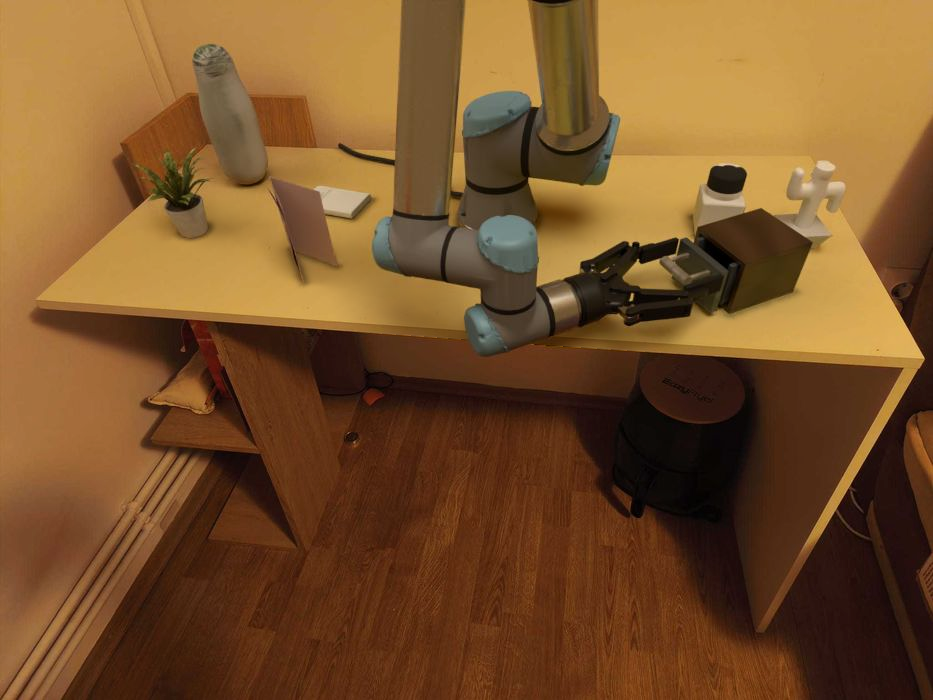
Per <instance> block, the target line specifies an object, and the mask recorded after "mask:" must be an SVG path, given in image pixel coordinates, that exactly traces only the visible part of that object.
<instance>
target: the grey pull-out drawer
mask: <svg viewBox="0 0 933 700" xmlns="http://www.w3.org/2000/svg"><path fill="white" fill-rule="evenodd" d="M658 263H659V265H660V266H661V267H662V268H663V269H665V270H666V271H667V272H668V273H669V274H670V275H671V280H672V281H673V282H675V284H676V285H678V287H680V288H681V290H683V287H684V285H687V284H691V283H694V282H697V281H700V280H703V279H706V278H709V277H712V276H715V275H718V274H722V275H723V276H724V279H723V282H722V286H721V289H720V291H718V292H715V293H712V294H709V295H707V297H706V298H705V299H703V300H700V301H697V302H696V303H698V304H699V306H701V307H702V308H703V309H704V310H705V311H707V312H708V314H712V313H714V312H717V310H718V306H720V305H722V304H725V303H728V302H729V301H730V298H731V294H732V291H733V288H734V285H735V282H736V279H737V276H738V273H739V270H740V266H741V265H740V264H739V263H737V262H736V261H735V260H733V259H732V258H731V257H730V256H728V255H727V254H726V253H724V252H723V251H722V250H721V249H719V248H718V247H717V246H715V245H714V244H713V243H712V242H710V241H709V240H708V239H706V238H705V237H704V236H702V237H699V238H696V241H695V244H694V241H692V240H691V239H689V238H688V237H687V236H685V237H682V238H680V239H679V242H678V247H677V251H676V255H675V256H671V257H670V256H664V257H662V258H661V259H659V262H658ZM719 304H720V305H719Z"/></svg>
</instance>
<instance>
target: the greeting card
mask: <svg viewBox="0 0 933 700" xmlns="http://www.w3.org/2000/svg"><path fill="white" fill-rule="evenodd" d="M268 178H269V181H270V185H271V188H272V191H273V193H272V191H271V190H270V189H269V188H267V189H268V191H269V192H268V193H269V194H270V195H271V197H272V199H273V201H274V202H275V204H276V206H277V208H278V211H279V215H280V219H281V222H282V226H283V229H284V232H285V236H286V240H287V242H288V247H289V249H290V251H291V254H292V257H293V259H294V262H295V265H296V267H297V269H298V272H299V274H300V277H301V279H302V281H303V283H305V281H304V277H303V274H302V271H301V268H300V263H299V260H298V257H297V253H300V254H302V255H304V256H307V257H310V258H313V259H315V260H318V261H321V262H323V263H326V264H329V265H332V266H333V267H338V264H337V263H338V262H337V259H336V255H335V251H334V246H333V243H332V239H331V234H330V230H329V225H328V222H327V217H326V214H325V213H324V208H323V204H322V200H321V196H320V192H319V191H316V190H313V189H312V188H309V187H306V186H302V185H299V184H297V183H293V182H289V181H286V180H283V179H279V178H276V177H273V176H268Z"/></svg>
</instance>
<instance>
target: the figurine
mask: <svg viewBox="0 0 933 700" xmlns="http://www.w3.org/2000/svg"><path fill="white" fill-rule="evenodd" d="M805 171H806V170H804V168H802V167H795V168H794V169H793V171H792V173H791V175H790V179H789V181H788V184H787V187H786V192H785V195H786V198H787V200H789V201H802V202H801V204H800V207H799V209H798V212H797V213H786V214H773V216H774V217H776V218H777V219H779V220H780V221H782V222H783V223H785V224H786V225H788V226H789V227H791V228H792V229H794V230H795V231H797V232H798V233H800V234H801V235H803V236H804V237H806V238H807V239H809V240H810V241H812V242H813V244H812V246H811V249H810V250H814V249H816V248H817V247H818V246H820V245H822V244H823V243H824V242H826V241H827V240H828V239H830V238H832V237H833V236H834V235H833V233H832V232H831V231H830V229H829V228H827V226H826V224H824V222H823V221H822V220H821V219H820V218H819V217H818V215H817V213H818V211H819V208H820V206H821V203H822V201H823V200H827V199H828V200H827V203H826V205H825V210H827V212H829V213H831V214H834V213H837V212H838V211H839V208H840V206H841V204H842V201H843V199H844V196H845V193H846V189H847V186H846V183H844V182H843V181H830V180H831V178H832V177H833V175H834V172H835V171H836V165H835V164H834V163H831V162H830V161H829V160H825V159H824V160H817V161H816V163H815V164H814V168H813V170H812V172H810V175H809V176H810V179H809V181H808V182H804V178H805V176H806V172H805Z"/></svg>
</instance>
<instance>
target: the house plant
mask: <svg viewBox="0 0 933 700" xmlns="http://www.w3.org/2000/svg"><path fill="white" fill-rule="evenodd" d="M197 147H198V145H197V146H194V147H193V148H192V149H191V150H190V151H189V152H188V154H187V156H186V158H183V160H181V161H179V162H178V164H177V163H176V160H175V158H174V156H173V154H172V153H171V151H170V150H169V149H168V148H167V147H166V148H165V150H164V153H163V159H162V158H161V157H160V156H158V155H155V157H156V158H157V159H158V161H159V162H160V163H161V165H162V166H163V168H164V169H165V172H166V175H165V176H164V180H163V179H162V178H161V177H160V176H159V175H158V174H157V173H155V172H154V171H153V170H152V169H150V168H148V167H145V166H142V165H140V164H138V163H132V162H131V164H130V165H133V166H135V167H137V168H138V169H140V170H141V171H143V172H144V173H145V174H146V175H148V176H149V178H151V179H149V178H147V177H142V176H139V177H138V178H139V179H142V180H145V181H147V182H149V183H151V184H153V185H154V186H155V188H150V189H148V192H149V193H151V194H153V195H150V197H149V198H148V201H147V203H149V202H151V201H156V200H159V199H165V200H166V202H165V203H164V206H163V208H164V209H163V210H164V211H165V212H166V214H167V215H168V217H169V218H170V220H171V221H172V223H173V224H174V225H175V227H176V229H177V231H178V232H179V234H180V235H181V236H182V237H184V238H187V239H194V238H198V237H202V236H203V235H205V234H206V233H207V232H208V230H209V225H208V220H207V215H206V210H205V204H204V199H203V197H202V196H201V195H200V194H197V193H198V191H199V190H200V188H201V187H202V186H203V185H204V184H205V183H206V182H210V183H211V182H212V181H211V180H213V179H214V177H209V178H200V179H197V180H195V181H194V182H192V181H193V180H194V177H195V175H196V173H197V172H198V171H200V170H204V169H205V167H199V168H196V169H195V167H196V166H195V165H196V164H197V162H199V161H201V160H202V159H205V158H208V157H209V155H204V156H200V157H198V158H196V159H194V161H192V160H193V158H194V157H195V155H196V153H194V152H195V151H196V149H197ZM191 162H192V163H191ZM182 163H183V166H182V168H181V169H182V171H181V173H179V170H178V167H179V166H180V165H181V164H182ZM194 169H195V170H194ZM193 170H194V171H193ZM197 184H200V185H199V186H198V188H197V189H196V191H195V192H192V190H193V189H194V187H195V186H196V185H197Z"/></svg>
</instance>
